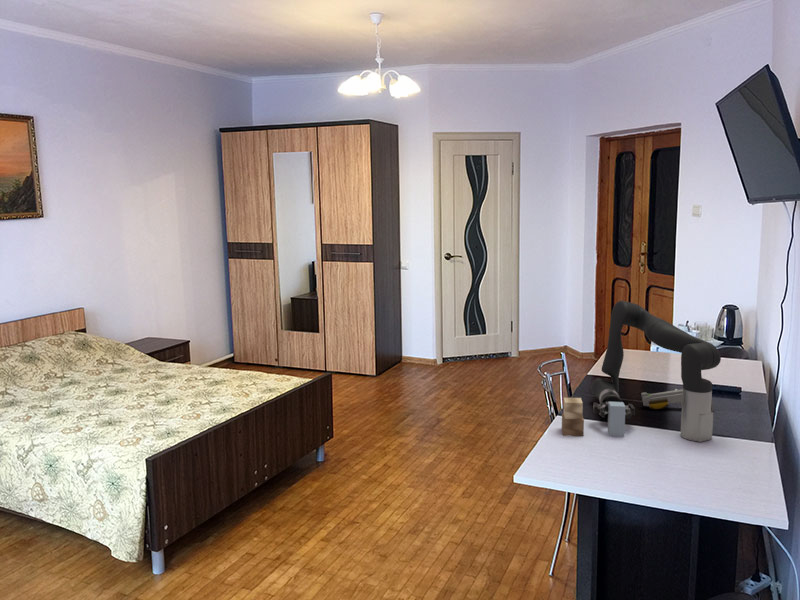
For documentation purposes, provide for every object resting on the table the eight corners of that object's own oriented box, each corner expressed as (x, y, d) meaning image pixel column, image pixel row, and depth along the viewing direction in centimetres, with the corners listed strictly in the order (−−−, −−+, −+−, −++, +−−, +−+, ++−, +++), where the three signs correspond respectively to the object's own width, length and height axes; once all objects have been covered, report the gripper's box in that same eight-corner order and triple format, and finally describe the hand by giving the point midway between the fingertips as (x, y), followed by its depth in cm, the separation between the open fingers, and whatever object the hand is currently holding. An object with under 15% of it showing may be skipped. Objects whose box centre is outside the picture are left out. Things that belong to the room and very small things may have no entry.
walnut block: (581, 429, 239) (581, 413, 238) (583, 436, 232) (583, 420, 231) (561, 428, 240) (562, 412, 239) (563, 435, 233) (563, 419, 232)
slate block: (622, 431, 236) (623, 402, 234) (624, 436, 231) (625, 406, 229) (607, 431, 237) (608, 401, 235) (609, 436, 232) (610, 406, 230)
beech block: (580, 413, 238) (580, 397, 237) (582, 419, 232) (582, 403, 231) (563, 413, 239) (563, 397, 238) (564, 418, 233) (565, 402, 232)
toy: (715, 412, 253) (710, 385, 252) (647, 421, 258) (642, 395, 257) (711, 407, 258) (707, 381, 257) (644, 416, 264) (640, 391, 263)
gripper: (591, 391, 250) (595, 404, 234) (630, 392, 247) (637, 405, 232) (590, 409, 251) (595, 424, 235) (629, 411, 249) (636, 426, 233)
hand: (616, 415), depth 233 cm, fingers open, 8 cm apart
